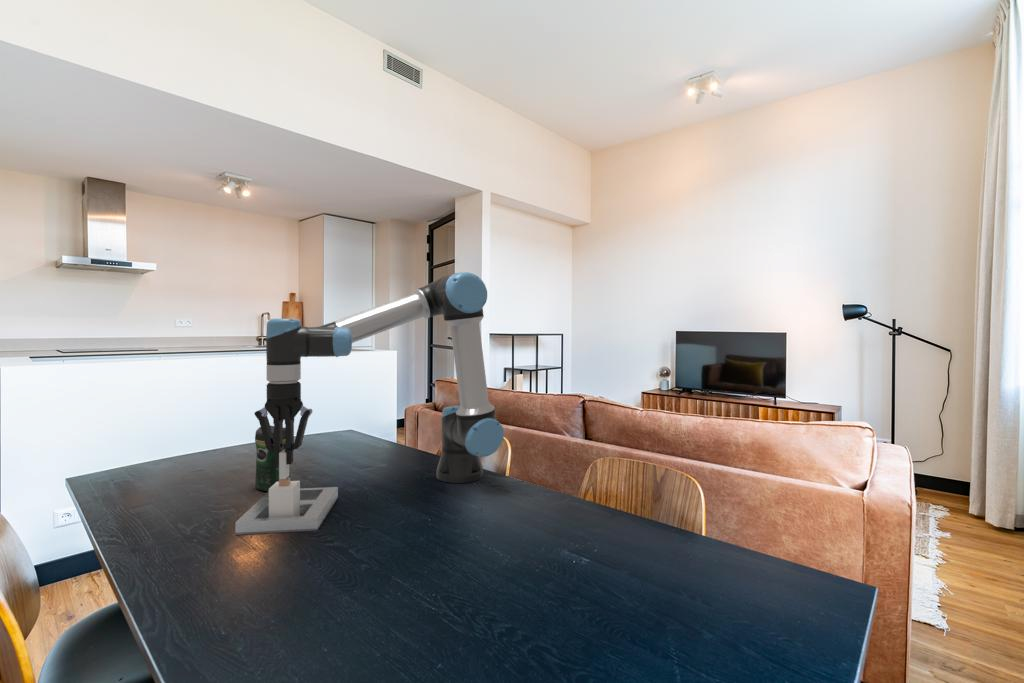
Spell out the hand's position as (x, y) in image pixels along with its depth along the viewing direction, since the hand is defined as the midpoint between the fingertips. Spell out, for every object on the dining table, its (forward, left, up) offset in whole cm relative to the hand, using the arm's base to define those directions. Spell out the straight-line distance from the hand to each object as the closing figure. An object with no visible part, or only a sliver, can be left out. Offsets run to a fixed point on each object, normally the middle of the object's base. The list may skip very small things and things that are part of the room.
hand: (284, 477), depth 114 cm
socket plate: (0, -6, -11) cm, 13 cm away
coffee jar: (+12, -28, -12) cm, 32 cm away
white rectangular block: (0, 0, -11) cm, 11 cm away
